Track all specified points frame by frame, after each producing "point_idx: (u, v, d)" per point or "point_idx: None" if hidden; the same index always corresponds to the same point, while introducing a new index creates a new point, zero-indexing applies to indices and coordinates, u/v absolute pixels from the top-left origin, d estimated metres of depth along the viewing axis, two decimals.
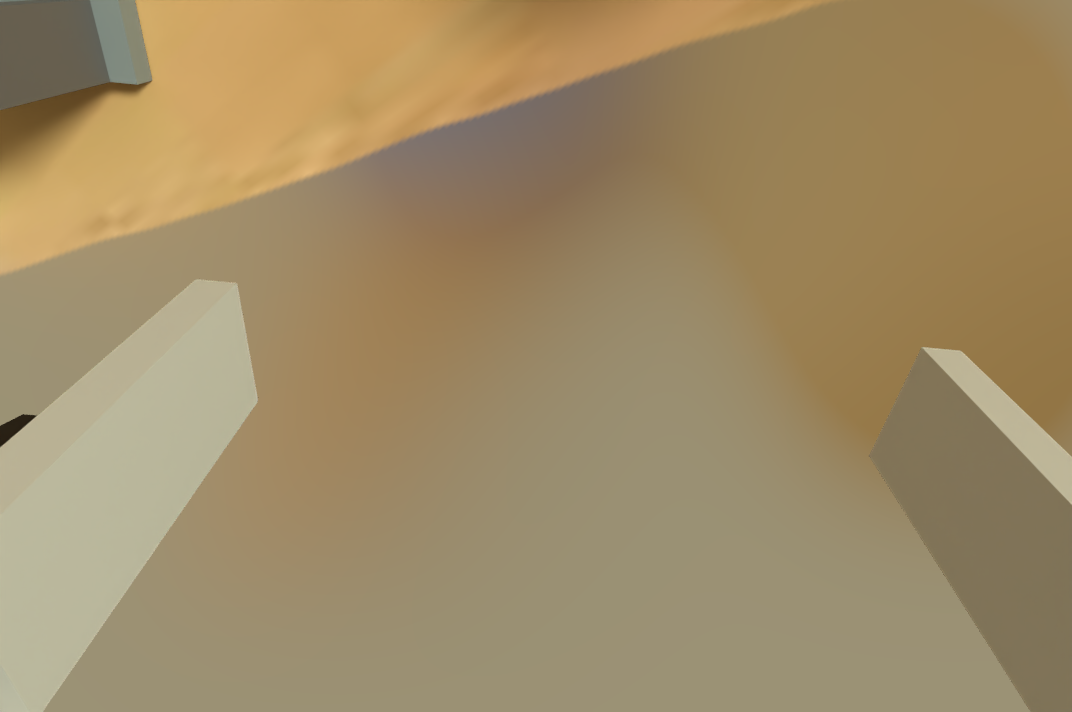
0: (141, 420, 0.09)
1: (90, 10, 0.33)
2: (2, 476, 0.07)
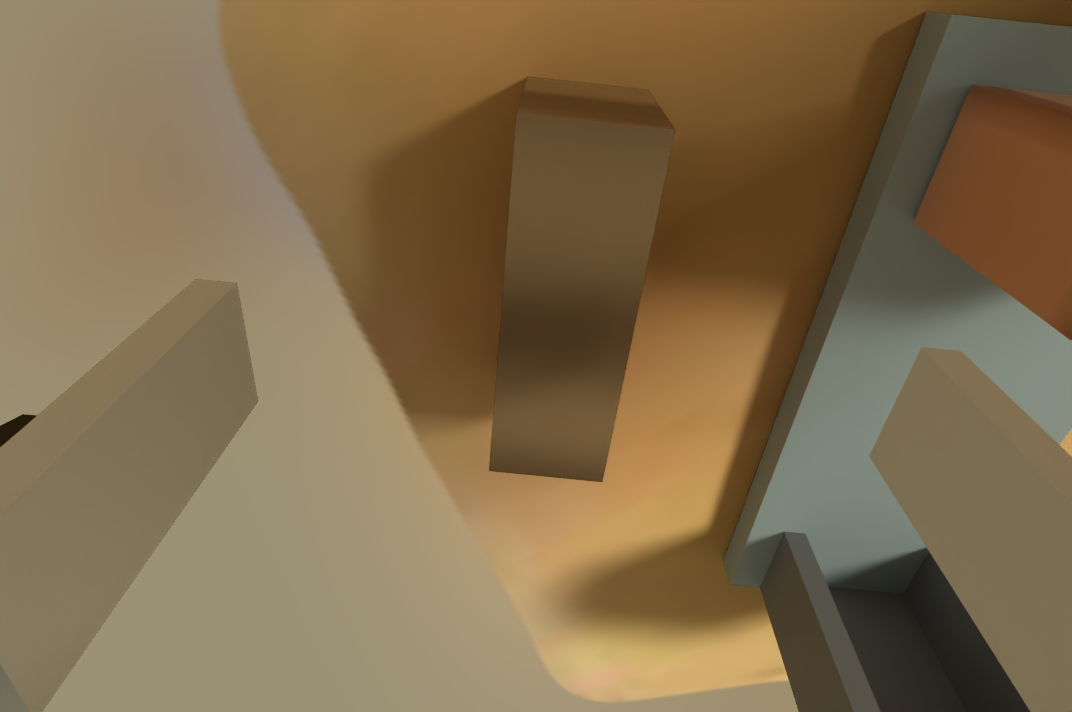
0: (140, 420, 0.09)
1: None
2: (1, 476, 0.07)
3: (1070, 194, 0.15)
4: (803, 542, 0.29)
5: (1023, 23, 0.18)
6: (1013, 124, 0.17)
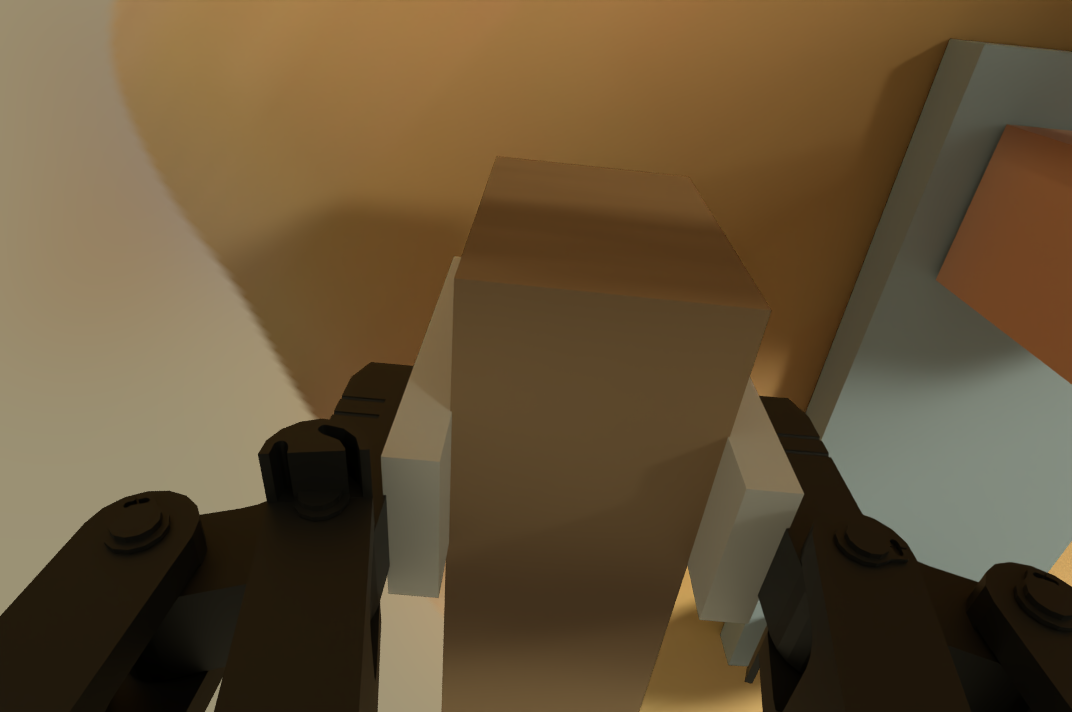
0: None
1: None
2: (428, 399, 0.09)
3: None
4: None
5: (1067, 53, 0.15)
6: (1066, 176, 0.14)
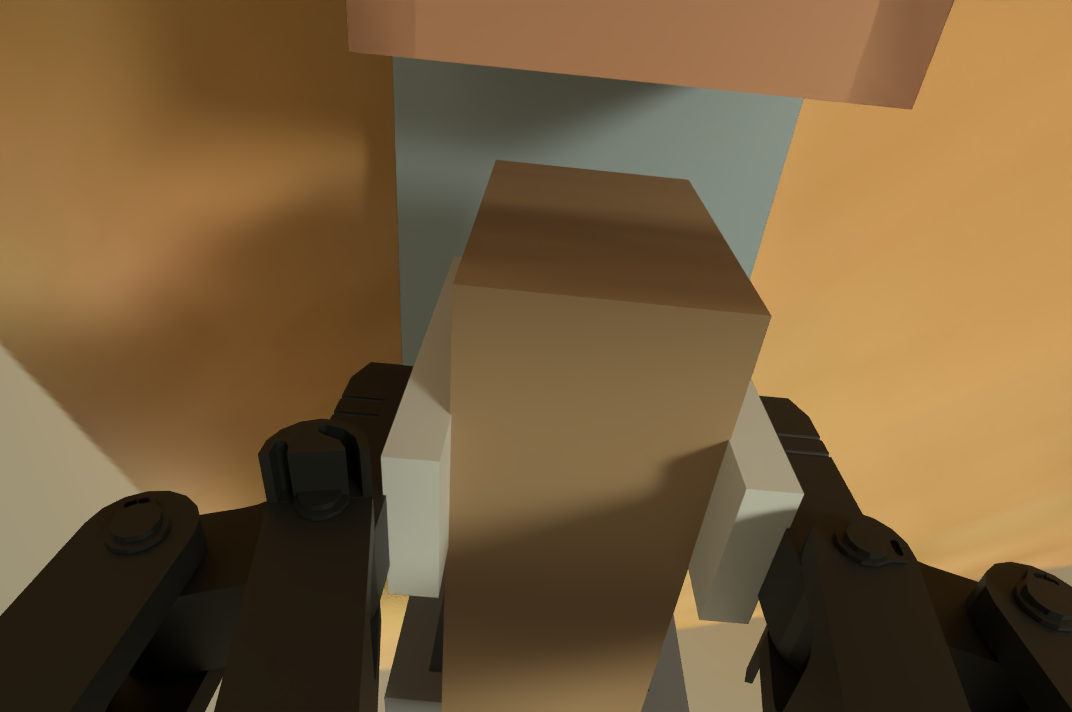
0: None
1: None
2: (428, 399, 0.09)
3: None
4: None
5: None
6: None
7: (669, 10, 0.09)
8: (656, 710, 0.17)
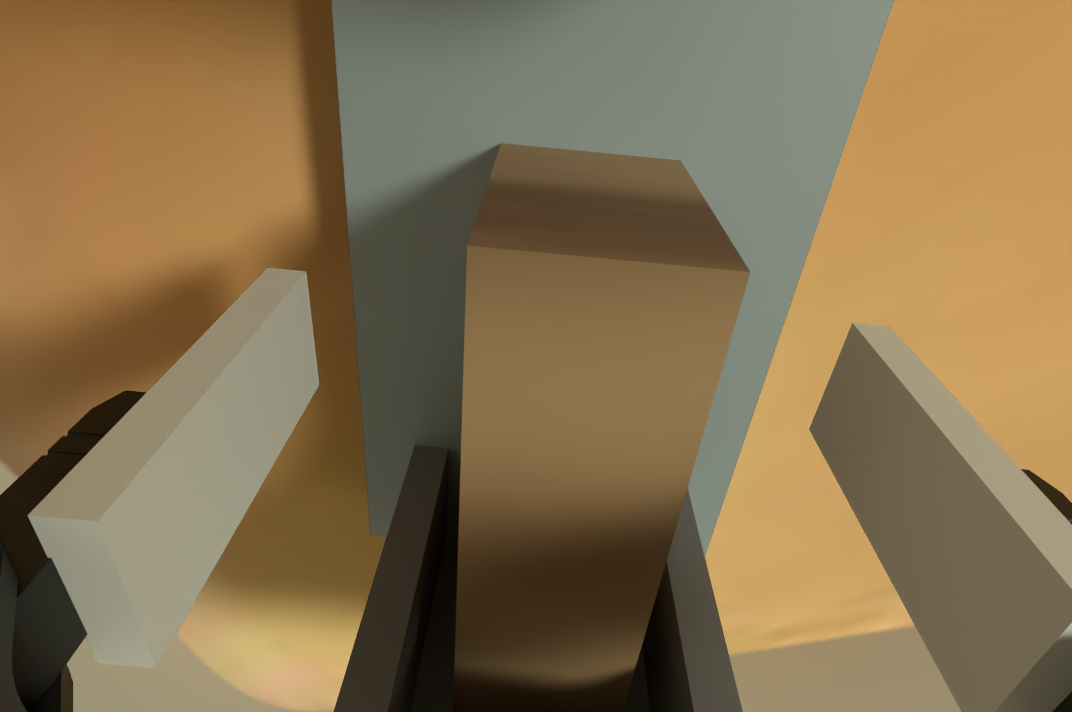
0: (235, 396, 0.10)
1: None
2: (131, 441, 0.08)
3: None
4: (436, 460, 0.18)
5: None
6: None
7: None
8: None
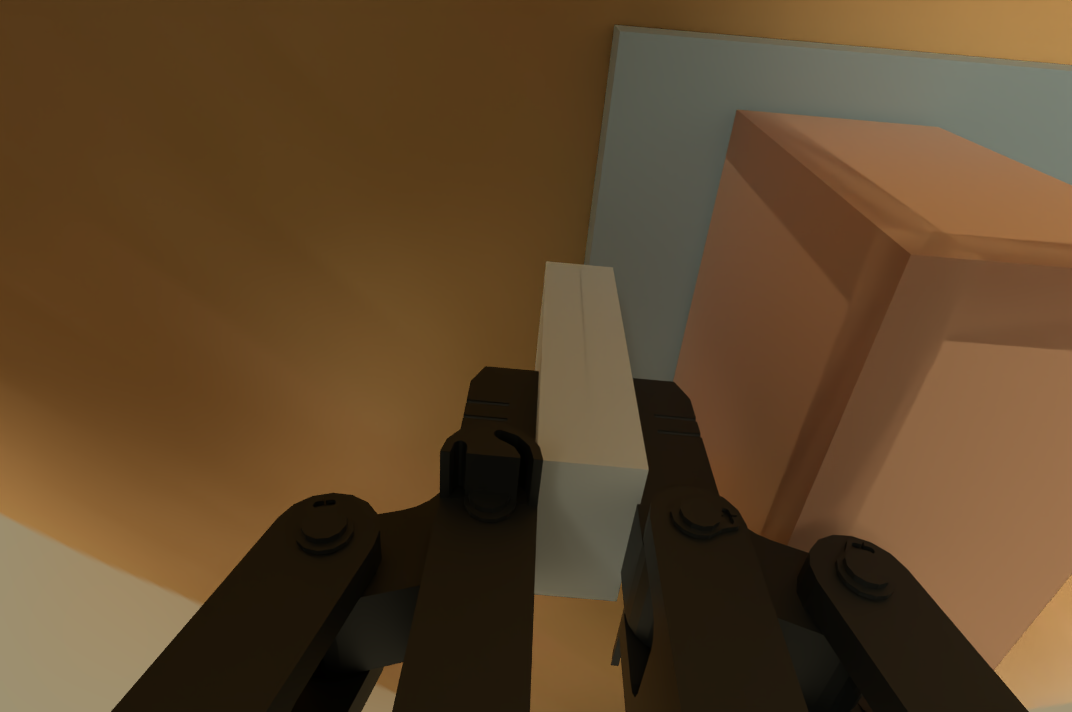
0: None
1: None
2: (565, 403, 0.09)
3: None
4: None
5: None
6: None
7: (1037, 531, 0.09)
8: None
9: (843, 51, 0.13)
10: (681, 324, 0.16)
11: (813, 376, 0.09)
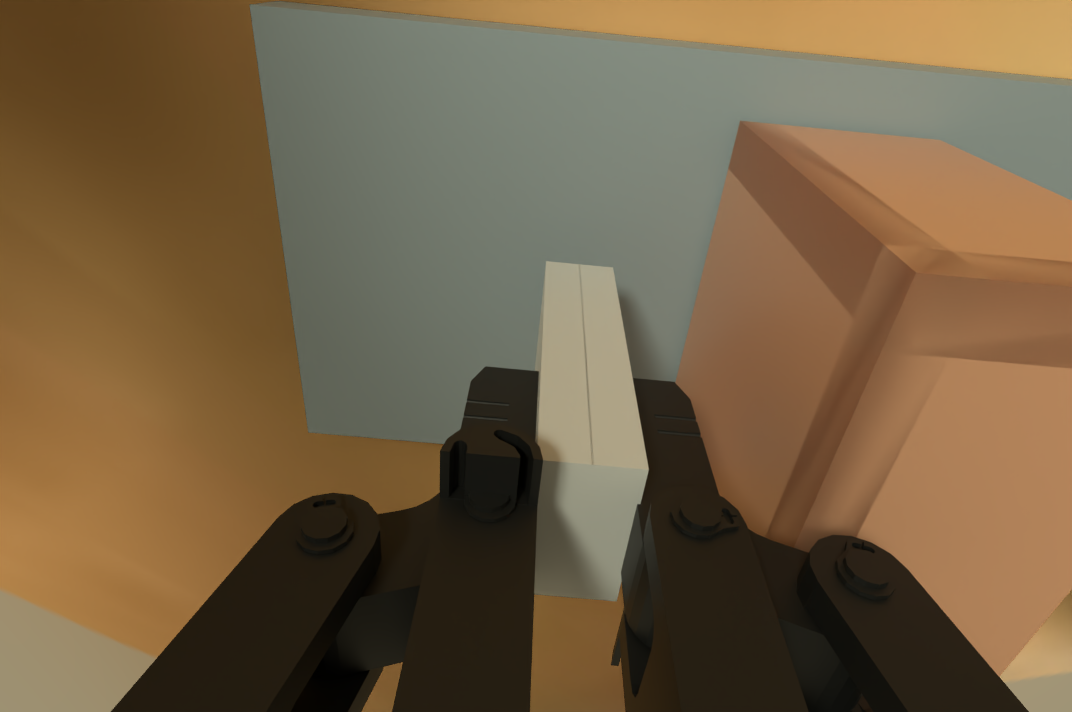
0: None
1: None
2: (566, 404, 0.09)
3: None
4: None
5: (301, 374, 0.17)
6: None
7: (1038, 546, 0.09)
8: None
9: (477, 27, 0.13)
10: (389, 306, 0.16)
11: (817, 390, 0.09)
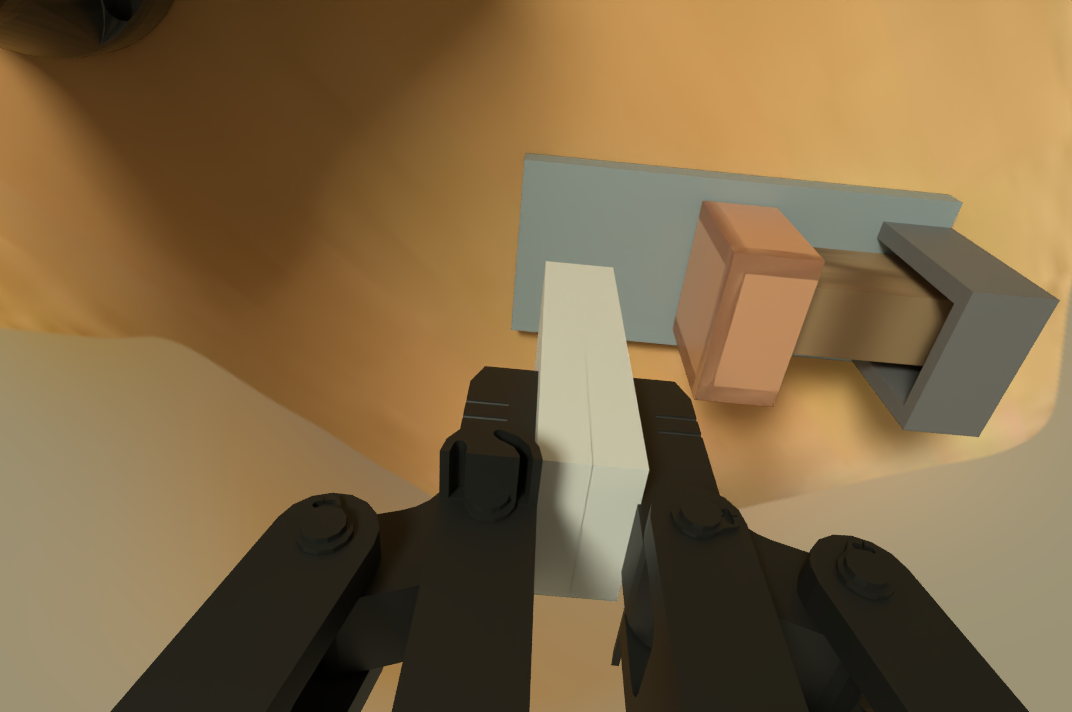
0: None
1: (891, 223, 0.36)
2: (565, 403, 0.09)
3: None
4: None
5: (513, 301, 0.40)
6: None
7: (780, 331, 0.31)
8: (961, 306, 0.29)
9: (605, 167, 0.35)
10: None
11: (718, 286, 0.31)
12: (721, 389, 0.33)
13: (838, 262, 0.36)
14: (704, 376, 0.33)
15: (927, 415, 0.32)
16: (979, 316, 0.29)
